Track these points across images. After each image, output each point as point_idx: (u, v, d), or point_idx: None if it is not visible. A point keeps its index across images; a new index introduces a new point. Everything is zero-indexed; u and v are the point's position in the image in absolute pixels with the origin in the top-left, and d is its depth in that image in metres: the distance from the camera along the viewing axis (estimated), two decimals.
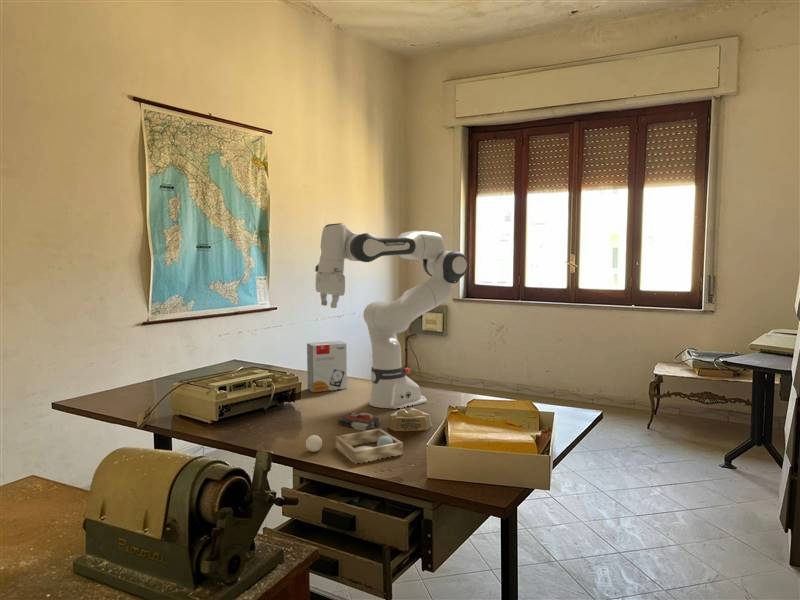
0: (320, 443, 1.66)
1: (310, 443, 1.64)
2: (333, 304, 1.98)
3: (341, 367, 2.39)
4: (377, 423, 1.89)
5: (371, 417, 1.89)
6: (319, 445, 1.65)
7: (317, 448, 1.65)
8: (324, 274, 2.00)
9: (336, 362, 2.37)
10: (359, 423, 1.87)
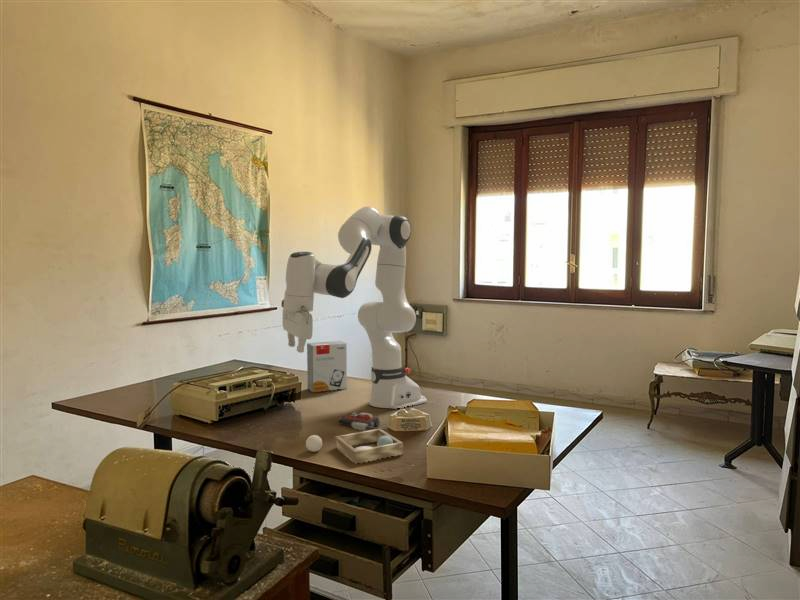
0: (320, 443, 1.66)
1: (310, 443, 1.64)
2: (299, 348, 1.69)
3: (341, 367, 2.39)
4: (377, 423, 1.90)
5: (371, 417, 1.89)
6: (319, 445, 1.65)
7: (317, 448, 1.65)
8: (289, 312, 1.71)
9: (336, 362, 2.37)
10: (359, 423, 1.87)
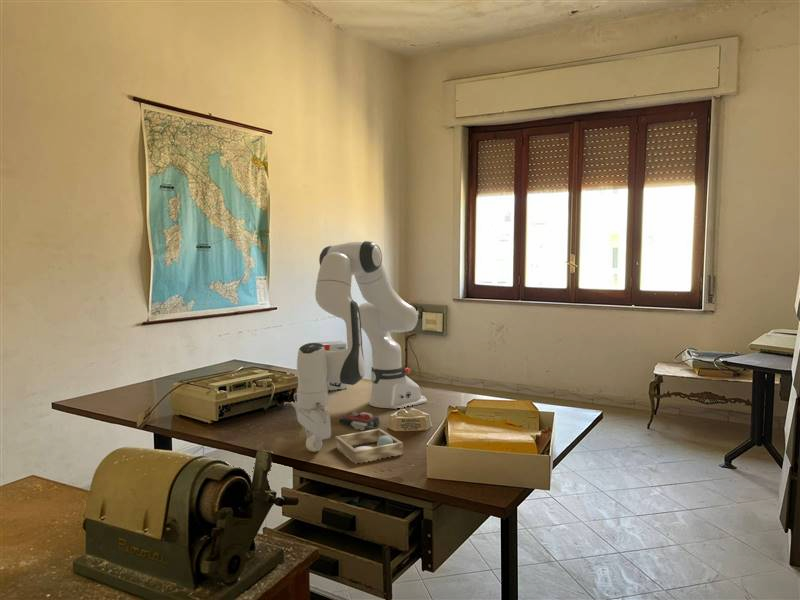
0: None
1: (310, 443, 1.64)
2: (317, 445, 1.63)
3: None
4: (377, 423, 1.90)
5: (371, 417, 1.89)
6: None
7: None
8: (304, 409, 1.63)
9: None
10: (358, 422, 1.87)
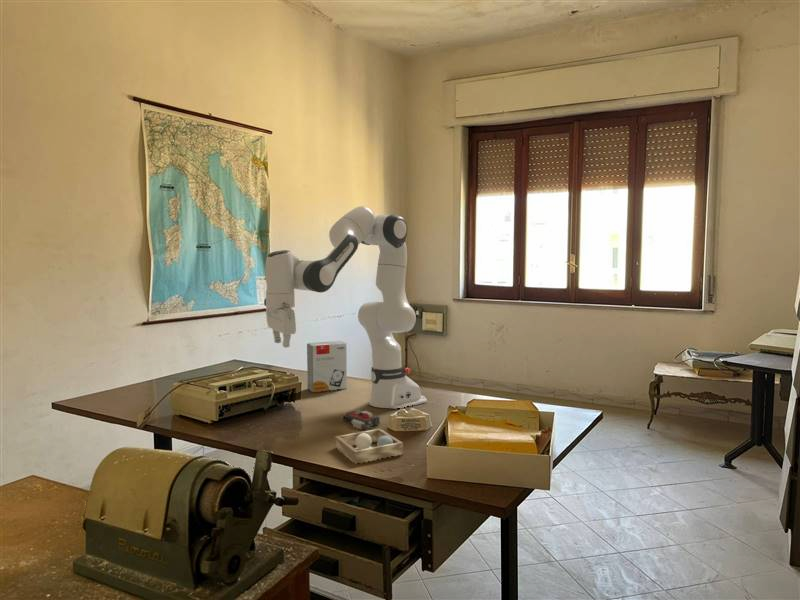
0: (370, 441, 1.66)
1: (360, 441, 1.65)
2: (285, 343, 1.75)
3: (341, 367, 2.39)
4: (376, 422, 1.90)
5: (370, 416, 1.90)
6: (369, 442, 1.65)
7: (367, 446, 1.65)
8: (272, 310, 1.77)
9: (336, 362, 2.37)
10: (357, 421, 1.89)
